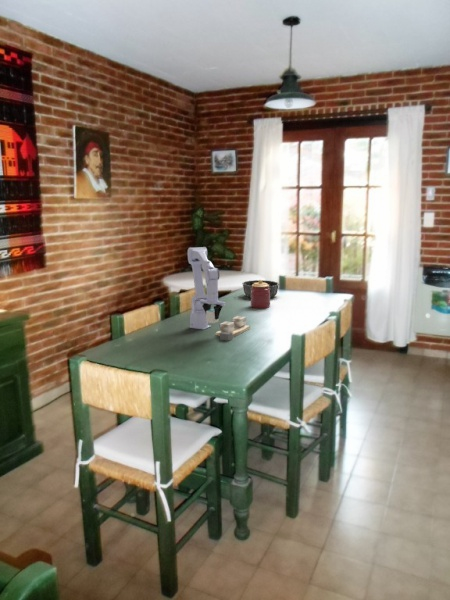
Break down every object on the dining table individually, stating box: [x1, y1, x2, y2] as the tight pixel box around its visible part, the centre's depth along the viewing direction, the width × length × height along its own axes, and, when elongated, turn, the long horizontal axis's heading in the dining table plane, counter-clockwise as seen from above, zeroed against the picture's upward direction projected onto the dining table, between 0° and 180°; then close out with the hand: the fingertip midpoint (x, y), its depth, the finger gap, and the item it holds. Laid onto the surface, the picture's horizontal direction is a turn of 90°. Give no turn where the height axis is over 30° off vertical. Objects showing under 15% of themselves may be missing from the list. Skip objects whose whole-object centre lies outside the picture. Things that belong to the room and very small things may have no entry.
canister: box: [250, 279, 271, 309], centre depth 320 cm, size 13×13×18 cm
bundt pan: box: [242, 279, 280, 299], centre depth 354 cm, size 26×26×10 cm
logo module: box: [206, 308, 220, 324], centre depth 252 cm, size 4×5×6 cm
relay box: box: [219, 331, 234, 342], centre depth 248 cm, size 5×4×4 cm
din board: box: [215, 315, 251, 338], centre depth 261 cm, size 10×20×6 cm, turn 151°
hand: (212, 318), depth 252 cm, fingers closed on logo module, 4 cm apart
